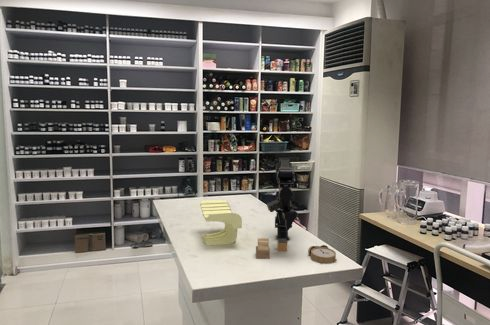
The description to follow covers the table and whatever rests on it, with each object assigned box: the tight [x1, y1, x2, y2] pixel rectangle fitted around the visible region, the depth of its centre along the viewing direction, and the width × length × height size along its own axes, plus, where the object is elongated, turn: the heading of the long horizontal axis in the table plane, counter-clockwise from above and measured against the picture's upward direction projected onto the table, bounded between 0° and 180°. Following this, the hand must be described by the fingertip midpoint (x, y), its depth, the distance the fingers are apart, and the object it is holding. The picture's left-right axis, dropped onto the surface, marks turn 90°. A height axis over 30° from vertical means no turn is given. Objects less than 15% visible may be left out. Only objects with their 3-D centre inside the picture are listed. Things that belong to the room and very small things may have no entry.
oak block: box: [257, 237, 270, 250], centre depth 178 cm, size 5×5×4 cm
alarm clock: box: [307, 244, 337, 264], centre depth 178 cm, size 11×5×15 cm
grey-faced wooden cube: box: [276, 238, 288, 252], centre depth 188 cm, size 4×4×5 cm
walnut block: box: [255, 245, 271, 260], centre depth 179 cm, size 6×6×4 cm
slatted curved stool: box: [199, 199, 243, 246], centre depth 201 cm, size 30×16×18 cm, turn 14°
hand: (284, 226), depth 185 cm, fingers open, 9 cm apart
